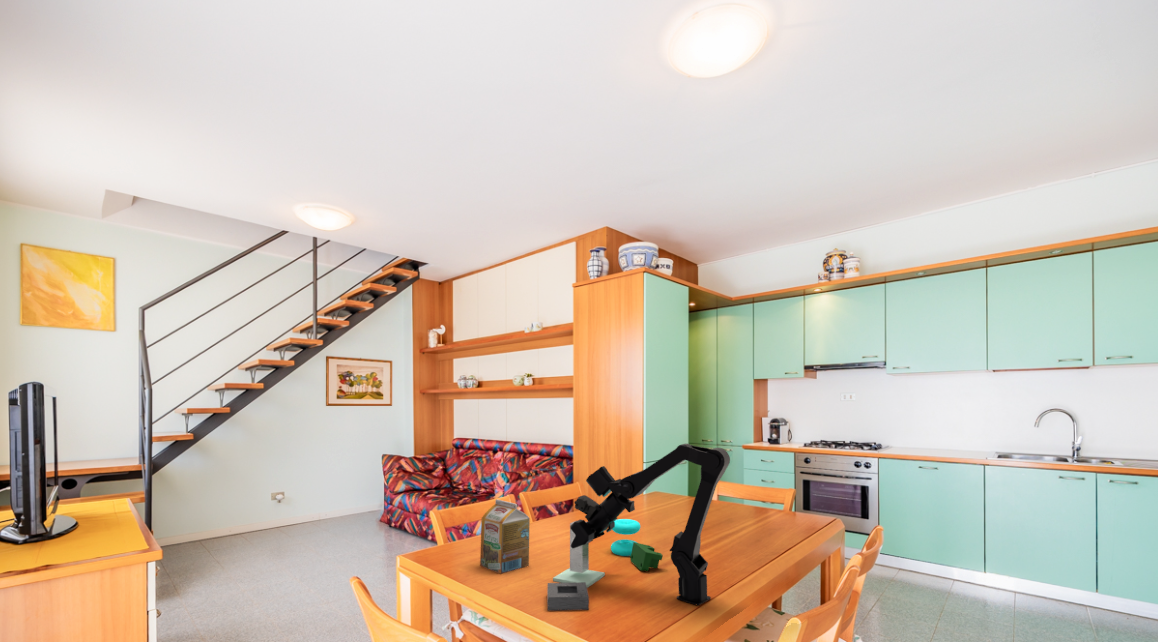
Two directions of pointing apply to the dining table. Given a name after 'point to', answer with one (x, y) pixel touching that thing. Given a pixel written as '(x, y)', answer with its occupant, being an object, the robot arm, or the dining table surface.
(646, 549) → the clamp
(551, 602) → the socket block
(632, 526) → the donuts
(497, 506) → the milk carton
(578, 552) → the peg
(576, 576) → the pad
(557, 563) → the dining table surface
